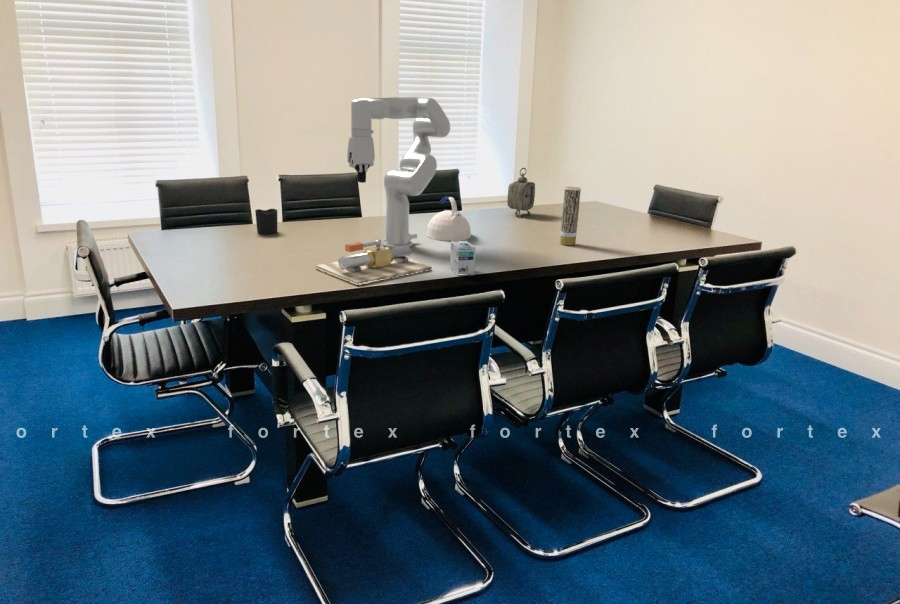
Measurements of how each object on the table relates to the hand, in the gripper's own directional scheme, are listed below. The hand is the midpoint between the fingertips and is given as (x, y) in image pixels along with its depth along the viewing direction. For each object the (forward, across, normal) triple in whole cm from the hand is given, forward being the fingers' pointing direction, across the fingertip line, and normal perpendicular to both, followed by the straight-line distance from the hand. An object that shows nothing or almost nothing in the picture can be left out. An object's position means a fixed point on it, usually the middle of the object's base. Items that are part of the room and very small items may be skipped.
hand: (361, 182), depth 266 cm
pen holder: (+29, +11, -56) cm, 64 cm away
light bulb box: (+29, -16, +41) cm, 53 cm away
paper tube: (+29, -85, +37) cm, 97 cm away
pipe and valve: (+28, +9, +21) cm, 36 cm away
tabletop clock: (+29, -116, -19) cm, 121 cm away
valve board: (+29, +9, +20) cm, 36 cm away
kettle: (+30, -52, -5) cm, 60 cm away
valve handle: (+20, +14, +21) cm, 32 cm away
